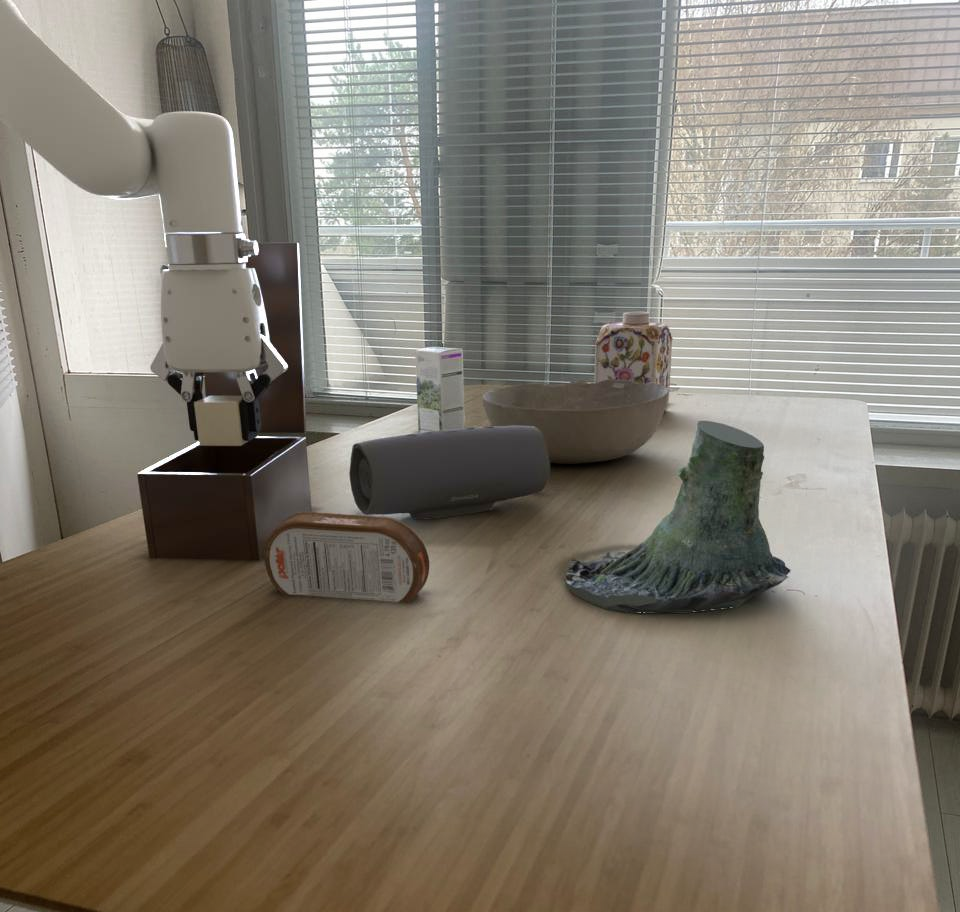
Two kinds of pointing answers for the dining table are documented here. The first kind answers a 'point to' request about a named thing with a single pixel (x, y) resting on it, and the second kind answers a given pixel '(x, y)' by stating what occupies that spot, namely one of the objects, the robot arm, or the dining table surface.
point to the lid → (276, 341)
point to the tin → (346, 557)
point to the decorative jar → (634, 351)
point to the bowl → (582, 416)
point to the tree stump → (694, 538)
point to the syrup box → (439, 388)
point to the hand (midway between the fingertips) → (226, 436)
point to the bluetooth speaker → (448, 470)
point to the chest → (223, 498)
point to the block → (219, 421)
